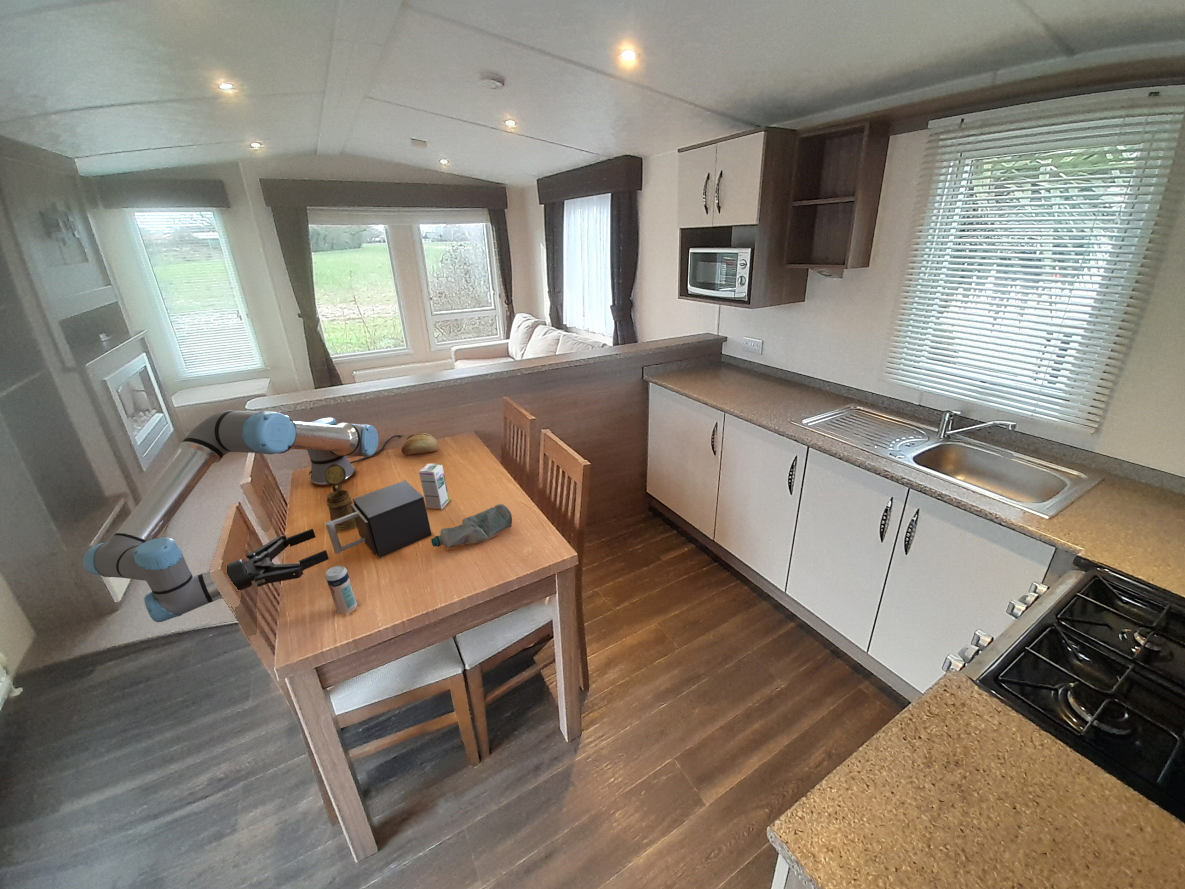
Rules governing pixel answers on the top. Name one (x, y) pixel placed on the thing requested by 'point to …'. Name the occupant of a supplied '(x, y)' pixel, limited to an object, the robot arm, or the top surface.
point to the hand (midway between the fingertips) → (320, 543)
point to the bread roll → (419, 444)
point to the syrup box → (434, 486)
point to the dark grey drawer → (362, 528)
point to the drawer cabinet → (395, 517)
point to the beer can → (341, 589)
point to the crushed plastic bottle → (475, 528)
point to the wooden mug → (339, 498)
